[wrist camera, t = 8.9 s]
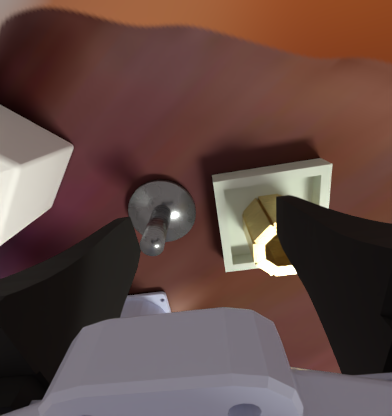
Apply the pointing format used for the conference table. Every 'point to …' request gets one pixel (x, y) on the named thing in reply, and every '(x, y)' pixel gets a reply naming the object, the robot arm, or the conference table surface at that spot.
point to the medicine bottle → (27, 171)
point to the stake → (161, 214)
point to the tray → (259, 186)
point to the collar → (265, 236)
